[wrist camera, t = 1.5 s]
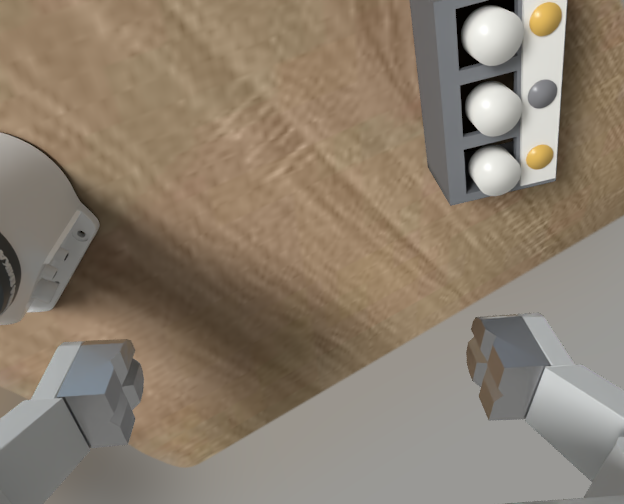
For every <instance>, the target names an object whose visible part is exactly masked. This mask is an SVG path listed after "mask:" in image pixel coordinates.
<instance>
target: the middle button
mask: <svg viewBox="0 0 624 504" xmlns="http://www.w3.org/2000/svg"><path fill="white" fill-rule="evenodd" d="M465 114H466V116H467V118H468V119H469V120H470V121H471V123H472V124H473V125H474V126H475V127H476V128H477V129H478V130H479V131H480V132H481V133H482V134H484V135H486V136H491V137H495V136H500V135H503V134H505V133H507V132H508V131H510V130H511V129H512V128H513V127H514V126H515V125H516V124H517V122H518V121H519V119H520V117H521V114H522V102H521V100H520V98H519V97H518V95H517V94H515V93H514V92H513V91H511V90H510V89H509V88H508V87H506V86H505V85H504V84H502V83H501V82H498V81H486V82H483V83H481V84H479V85H477V86H476V87H475V88H474V89H473V90H472V91H471V92H470V93H469V95H468V97H467V99H466V102H465Z"/></svg>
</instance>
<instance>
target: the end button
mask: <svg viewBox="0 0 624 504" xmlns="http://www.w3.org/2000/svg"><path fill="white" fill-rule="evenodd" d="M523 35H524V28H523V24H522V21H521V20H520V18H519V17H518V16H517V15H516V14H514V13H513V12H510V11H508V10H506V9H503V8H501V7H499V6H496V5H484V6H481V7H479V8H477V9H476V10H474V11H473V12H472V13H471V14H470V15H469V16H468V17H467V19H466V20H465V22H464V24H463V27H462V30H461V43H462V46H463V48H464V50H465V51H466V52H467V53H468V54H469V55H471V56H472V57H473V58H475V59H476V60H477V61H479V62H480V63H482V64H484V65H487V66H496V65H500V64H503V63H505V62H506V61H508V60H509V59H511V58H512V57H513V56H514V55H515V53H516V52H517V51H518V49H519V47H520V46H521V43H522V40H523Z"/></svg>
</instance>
